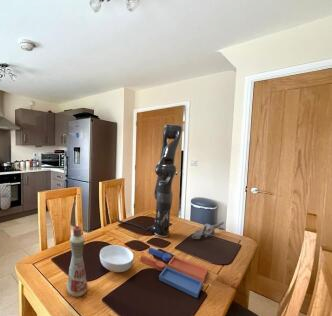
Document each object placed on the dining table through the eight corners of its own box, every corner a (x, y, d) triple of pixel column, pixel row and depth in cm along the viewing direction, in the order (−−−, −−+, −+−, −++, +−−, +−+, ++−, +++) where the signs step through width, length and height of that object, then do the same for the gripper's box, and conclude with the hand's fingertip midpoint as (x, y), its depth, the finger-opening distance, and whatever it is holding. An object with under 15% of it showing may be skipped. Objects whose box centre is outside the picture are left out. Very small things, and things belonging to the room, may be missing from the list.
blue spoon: (147, 254, 111) (147, 249, 111) (150, 250, 115) (151, 246, 114) (169, 263, 103) (170, 258, 103) (172, 259, 107) (172, 254, 106)
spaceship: (231, 222, 139) (220, 215, 145) (200, 237, 123) (189, 228, 129) (226, 230, 143) (216, 222, 149) (195, 246, 127) (185, 236, 133)
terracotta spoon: (139, 262, 103) (139, 257, 103) (143, 258, 107) (143, 253, 107) (162, 272, 95) (163, 267, 95) (166, 268, 99) (166, 262, 99)
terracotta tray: (167, 267, 100) (167, 263, 99) (173, 259, 107) (173, 255, 106) (203, 282, 89) (203, 278, 89) (207, 272, 96) (207, 268, 96)
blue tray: (158, 279, 90) (158, 275, 90) (165, 270, 97) (165, 266, 97) (197, 298, 80) (197, 293, 80) (202, 286, 87) (202, 281, 87)
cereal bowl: (110, 282, 88) (111, 267, 87) (93, 262, 102) (94, 249, 102) (140, 272, 95) (140, 258, 95) (120, 254, 110) (120, 242, 109)
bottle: (78, 279, 89) (80, 220, 87) (91, 291, 82) (93, 227, 80) (62, 288, 83) (63, 225, 81) (74, 301, 77) (76, 233, 74)
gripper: (161, 196, 114) (160, 223, 115) (151, 201, 103) (150, 231, 104) (175, 198, 109) (173, 227, 110) (166, 204, 98) (164, 235, 99)
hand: (162, 229), depth 107 cm, fingers open, 8 cm apart
